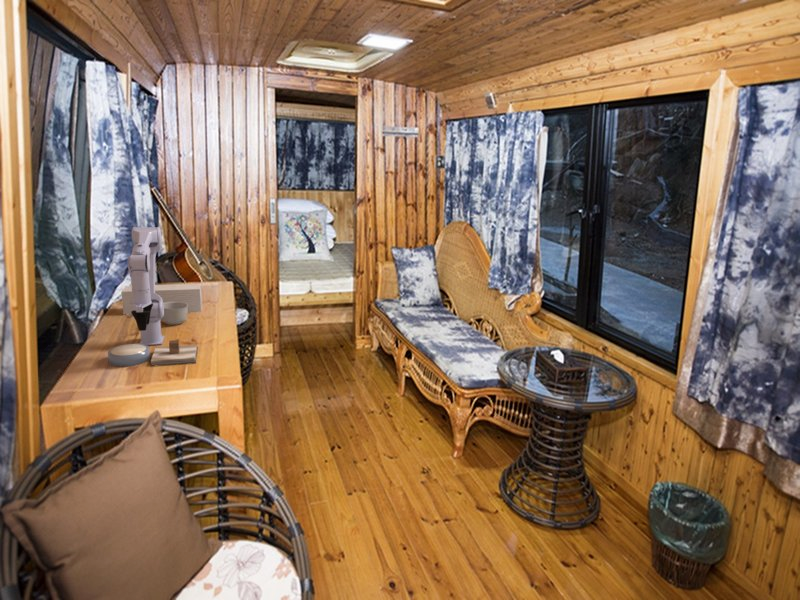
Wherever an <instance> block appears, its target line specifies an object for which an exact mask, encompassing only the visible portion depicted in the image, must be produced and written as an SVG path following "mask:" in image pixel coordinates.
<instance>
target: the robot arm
mask: <svg viewBox="0 0 800 600" xmlns="http://www.w3.org/2000/svg"><path fill="white" fill-rule="evenodd" d="M131 240H132V243H133V247H132V251H131V255H130V256H127V269H128V272H129V274H128V275H129V277H130V282H131V285H130V286H132V296H133V302H129V305H133V306H134V311H132V312H131V313H132V315H131V316H132V317H133V318H134V320H135V322H136V325H137V328H138V331H139V332H140V333H139V334H140V341H139V343H138V344H144V345H147V346H154V345H155V346H156V345H163V342H164V339H165V335H162V326H161V322H162V321H161V320H160V318H162V317H163V316H164V306H163V299H162V298H161V297H160V296H159V295H157V294H155V285H156V256H157V253H159V252H160V251H161V250H162V229H161V227H160V226H157V227H152V226H151V227H149V226H148V227H145V226H142V227H135V226H133V227H132V229H131Z"/></svg>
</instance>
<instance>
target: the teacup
mask: <svg viewBox="0 0 800 600" xmlns="http://www.w3.org/2000/svg"><path fill="white" fill-rule="evenodd" d="M163 306H164V316H163V317H162V318H160V321H161V322H164V323H165V324H166V325H169V326H177V325H181V324H184V322H186V321H187V319H188V313H189V312H188V309H187V307H188V305H187V304H186V303H183V302H167V303H163Z"/></svg>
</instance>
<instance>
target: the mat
mask: <svg viewBox="0 0 800 600" xmlns="http://www.w3.org/2000/svg"><path fill="white" fill-rule="evenodd" d="M198 350H199V346H198V345H197V350H196V356H195V361H182V362H168V363H153V364H151V367H156V366H155V365H163V366H175V365H177V364H178V365H189V364H188V363H192V364H196V363H197V358H196V357H197V356H198Z"/></svg>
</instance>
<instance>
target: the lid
mask: <svg viewBox="0 0 800 600" xmlns="http://www.w3.org/2000/svg"><path fill="white" fill-rule="evenodd" d="M197 346H198V345H197V344H185V345H180V340H179V339H174V340H169V343H168V346H156V347H155V348H154V351H153V353H152V356H151V358H150V359H151V360H150V364H151V365H152V364H153V363H168V362H182V361H195V356H196V350H197Z"/></svg>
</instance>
